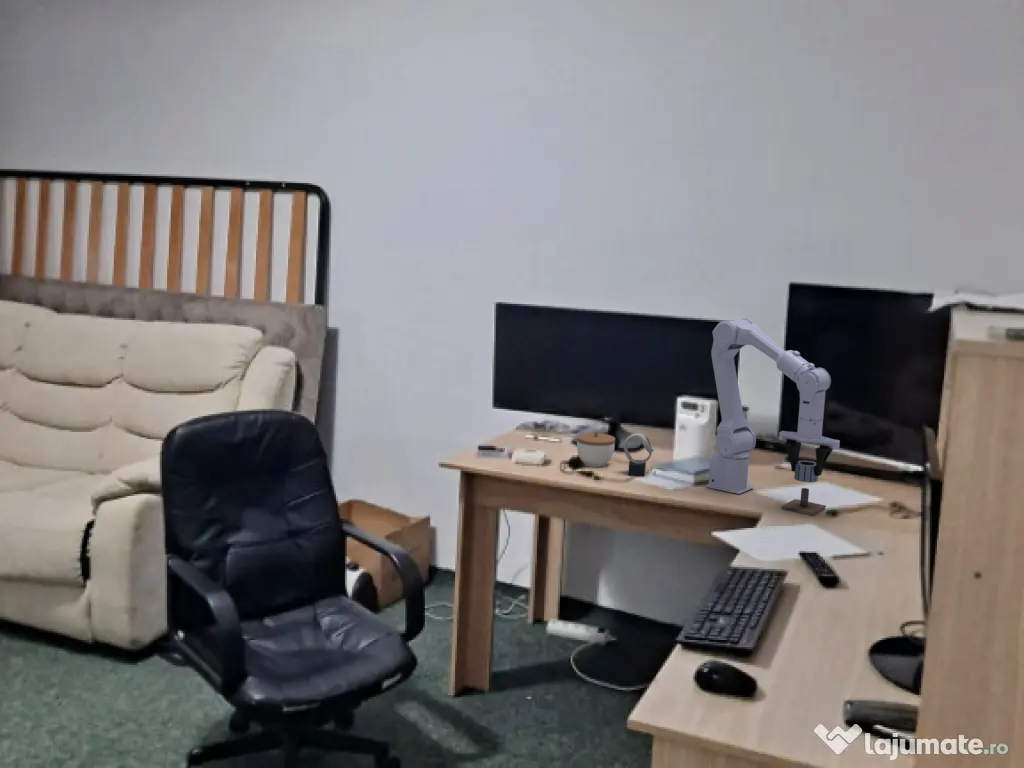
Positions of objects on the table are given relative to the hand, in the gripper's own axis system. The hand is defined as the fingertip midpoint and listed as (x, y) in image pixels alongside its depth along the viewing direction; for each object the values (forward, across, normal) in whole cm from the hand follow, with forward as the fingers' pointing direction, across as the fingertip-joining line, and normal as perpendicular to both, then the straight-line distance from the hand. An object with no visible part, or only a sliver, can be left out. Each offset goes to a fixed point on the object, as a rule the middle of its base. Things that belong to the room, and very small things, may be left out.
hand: (806, 472), depth 251 cm
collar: (+2, 0, 0) cm, 2 cm away
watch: (+9, -47, -2) cm, 48 cm away
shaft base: (+9, 0, 0) cm, 9 cm away
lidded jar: (+9, -61, -2) cm, 61 cm away
